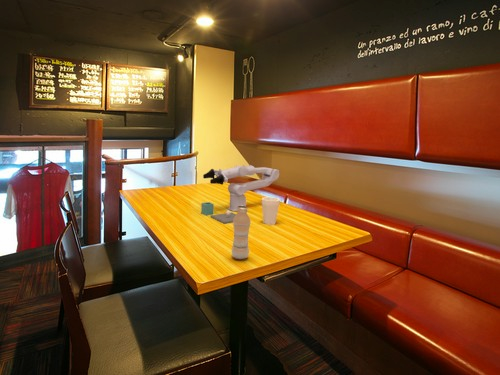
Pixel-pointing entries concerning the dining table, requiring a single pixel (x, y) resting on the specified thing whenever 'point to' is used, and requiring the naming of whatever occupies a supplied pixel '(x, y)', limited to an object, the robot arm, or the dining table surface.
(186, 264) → the dining table surface
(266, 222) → the foam cup
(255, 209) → the dining table surface
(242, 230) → the plastic bottle
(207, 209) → the sleeve
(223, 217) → the stub board
